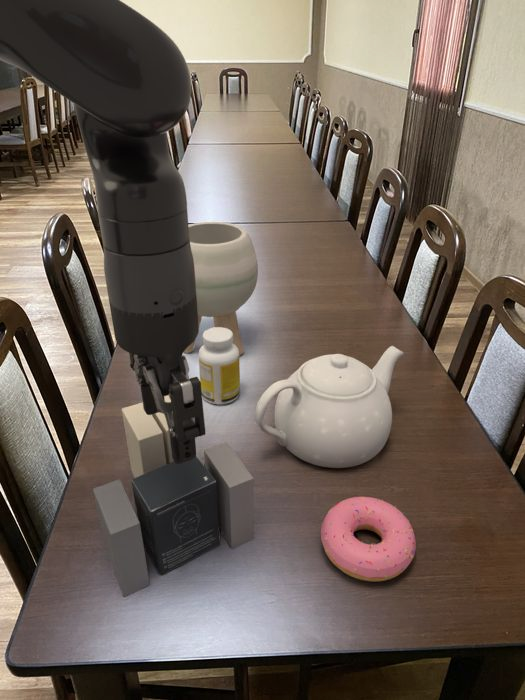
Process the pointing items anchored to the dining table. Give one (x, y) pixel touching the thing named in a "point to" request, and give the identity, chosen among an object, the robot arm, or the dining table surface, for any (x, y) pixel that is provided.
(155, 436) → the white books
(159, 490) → the box
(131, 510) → the grey books
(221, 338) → the pill bottle
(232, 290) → the planter
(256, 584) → the dining table surface
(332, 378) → the teapot
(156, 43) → the robot arm
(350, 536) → the doughnut
